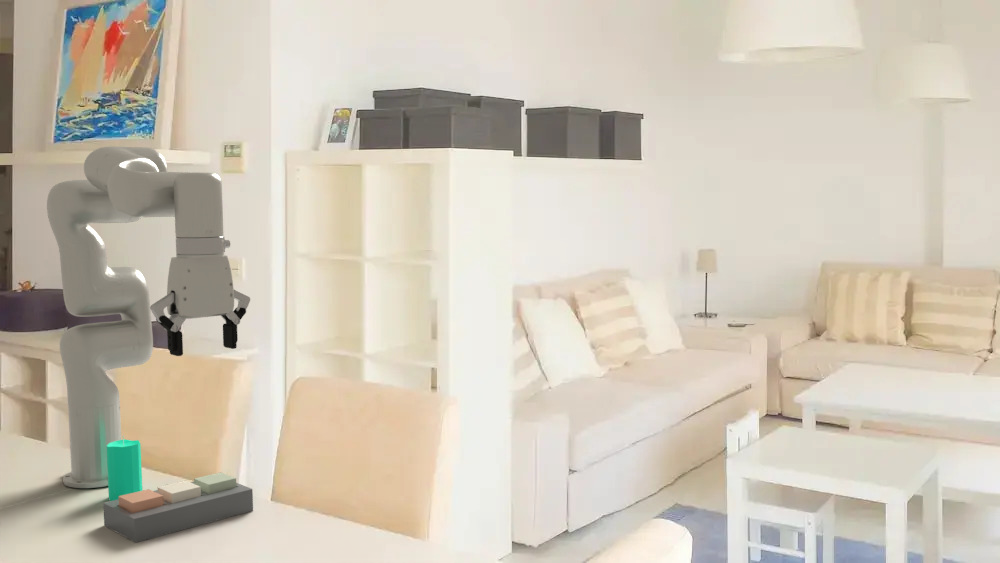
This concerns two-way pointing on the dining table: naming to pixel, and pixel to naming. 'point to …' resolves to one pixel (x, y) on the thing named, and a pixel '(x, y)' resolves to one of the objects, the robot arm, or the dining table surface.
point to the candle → (124, 468)
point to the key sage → (215, 483)
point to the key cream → (179, 491)
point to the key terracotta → (140, 501)
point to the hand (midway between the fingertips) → (203, 351)
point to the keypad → (177, 513)
